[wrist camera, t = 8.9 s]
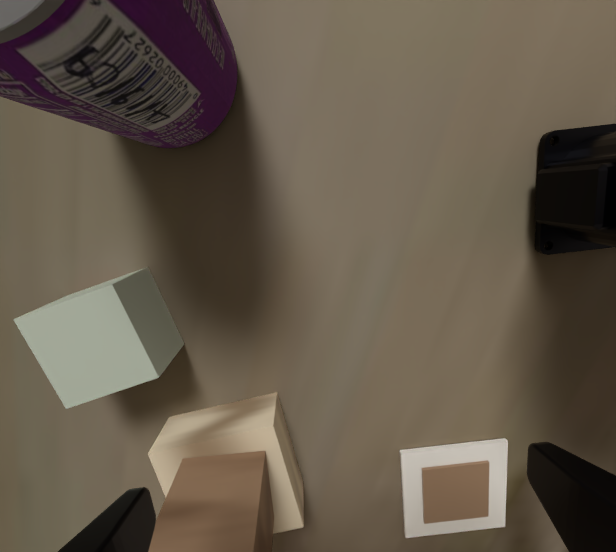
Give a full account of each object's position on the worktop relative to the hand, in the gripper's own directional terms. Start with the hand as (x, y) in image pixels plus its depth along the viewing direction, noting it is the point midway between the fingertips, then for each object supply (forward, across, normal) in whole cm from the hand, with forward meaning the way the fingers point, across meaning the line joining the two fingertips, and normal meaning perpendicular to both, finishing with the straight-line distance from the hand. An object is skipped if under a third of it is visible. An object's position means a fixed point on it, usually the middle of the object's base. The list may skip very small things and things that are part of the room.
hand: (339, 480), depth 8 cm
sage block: (+13, +11, 0) cm, 17 cm away
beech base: (+13, +6, +9) cm, 17 cm away
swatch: (+12, -8, +14) cm, 20 cm away
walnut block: (+9, +6, +9) cm, 14 cm away
